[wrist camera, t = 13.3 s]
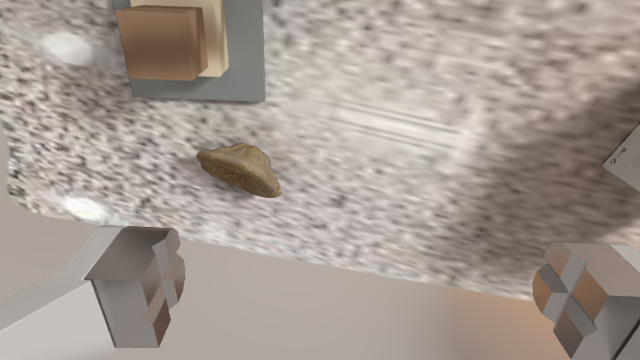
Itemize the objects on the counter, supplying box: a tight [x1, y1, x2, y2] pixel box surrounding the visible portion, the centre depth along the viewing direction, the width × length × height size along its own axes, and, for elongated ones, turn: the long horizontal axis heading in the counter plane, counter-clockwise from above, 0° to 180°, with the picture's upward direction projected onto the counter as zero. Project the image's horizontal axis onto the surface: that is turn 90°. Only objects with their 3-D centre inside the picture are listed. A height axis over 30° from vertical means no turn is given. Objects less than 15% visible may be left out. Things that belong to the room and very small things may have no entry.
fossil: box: [197, 143, 281, 198], centre depth 42 cm, size 9×4×10 cm
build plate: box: [113, 0, 265, 102], centre depth 37 cm, size 14×14×1 cm
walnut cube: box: [115, 5, 208, 81], centre depth 31 cm, size 5×5×5 cm
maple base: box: [130, 0, 229, 77], centre depth 35 cm, size 7×7×4 cm
